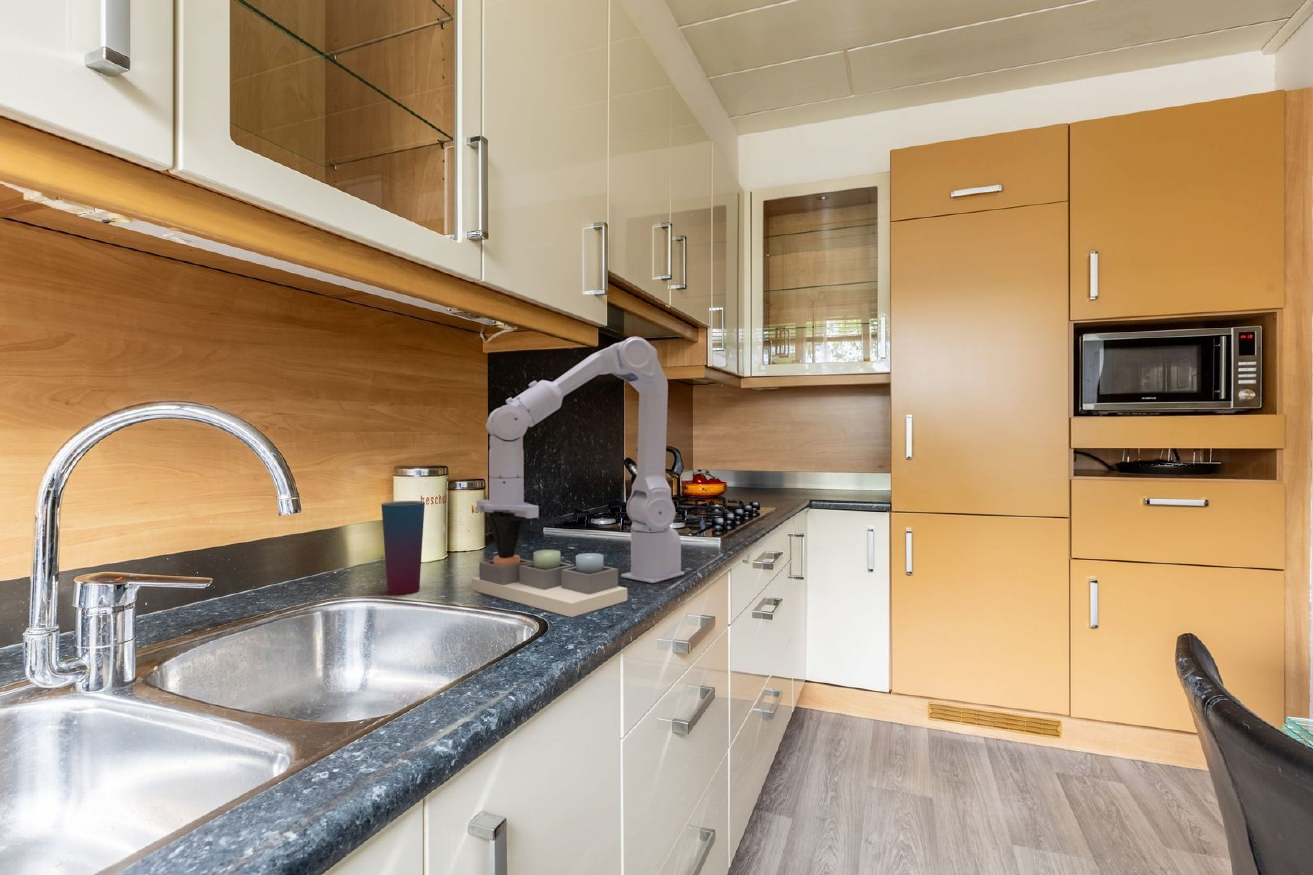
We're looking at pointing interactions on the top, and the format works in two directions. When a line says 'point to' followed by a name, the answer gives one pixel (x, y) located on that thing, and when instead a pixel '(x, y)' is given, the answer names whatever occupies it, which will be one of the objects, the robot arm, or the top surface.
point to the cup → (403, 545)
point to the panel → (551, 587)
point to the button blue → (589, 563)
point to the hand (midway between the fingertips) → (506, 557)
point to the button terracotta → (506, 560)
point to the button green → (546, 559)
